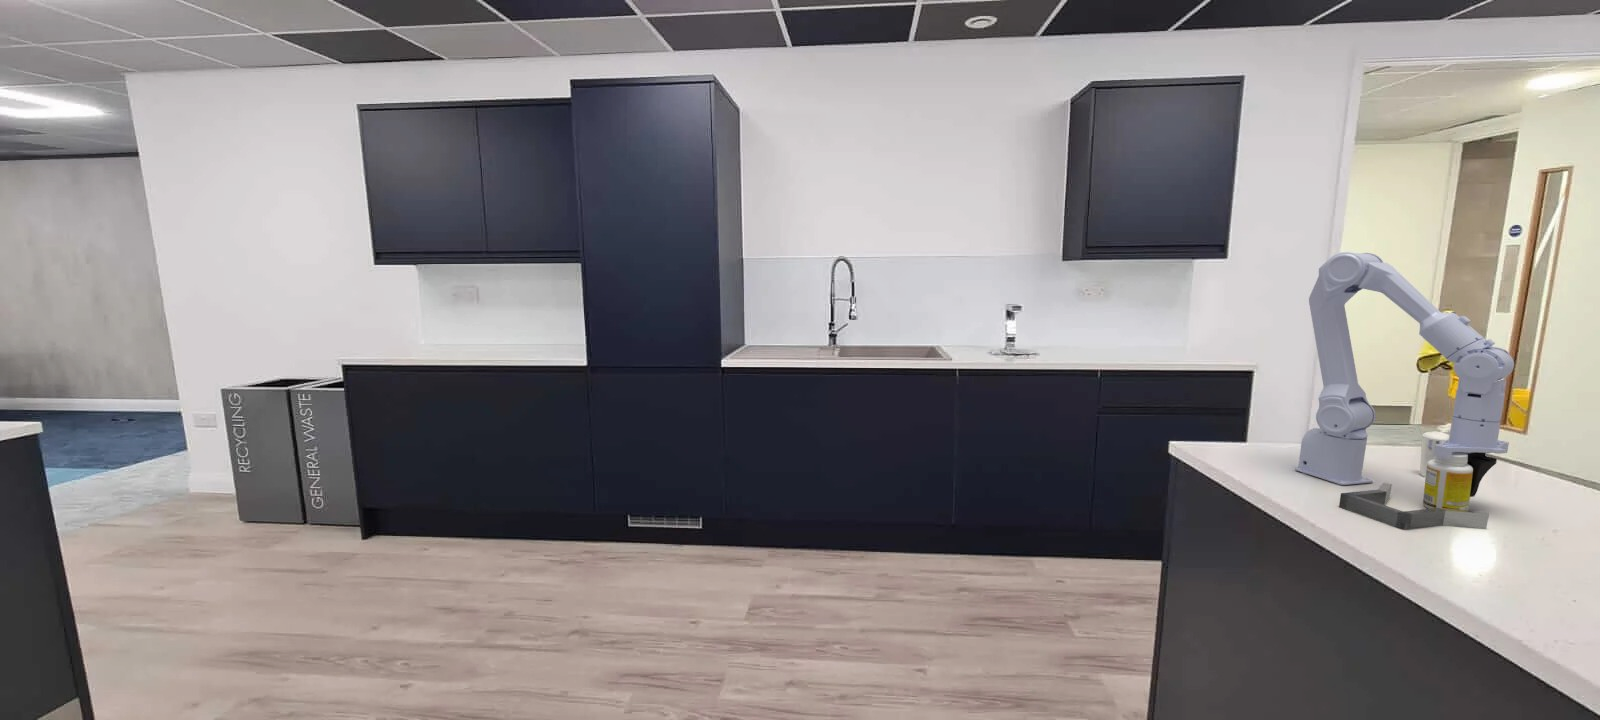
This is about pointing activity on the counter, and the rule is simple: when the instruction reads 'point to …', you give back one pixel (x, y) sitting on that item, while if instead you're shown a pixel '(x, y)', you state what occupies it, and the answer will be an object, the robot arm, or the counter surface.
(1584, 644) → the counter surface
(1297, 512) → the counter surface
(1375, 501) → the grey angular open frame
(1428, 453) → the milkshake
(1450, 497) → the supplement bottle
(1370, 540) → the counter surface
